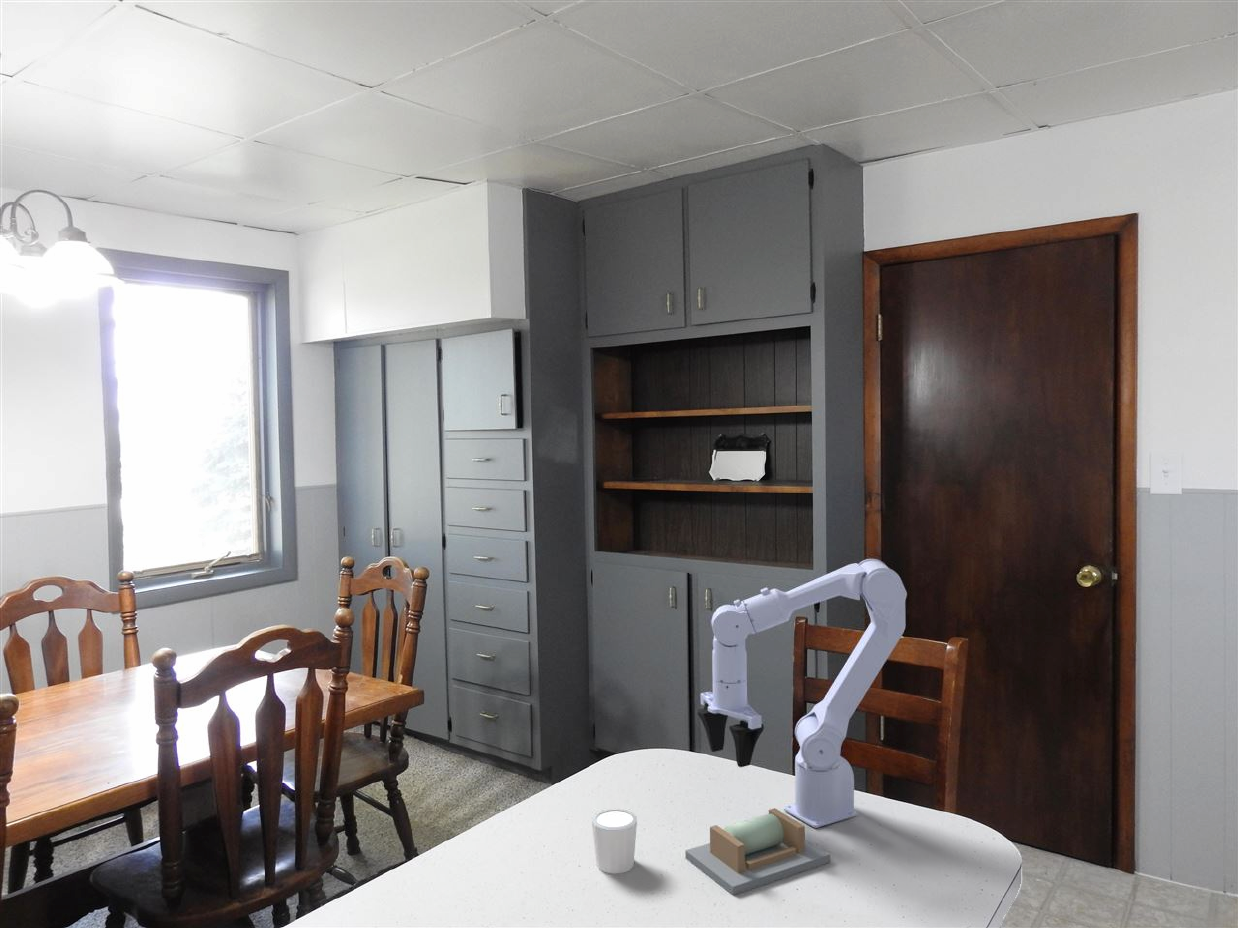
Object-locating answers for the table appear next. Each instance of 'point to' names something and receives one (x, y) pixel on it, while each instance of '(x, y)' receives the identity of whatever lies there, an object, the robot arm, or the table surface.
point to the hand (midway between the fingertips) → (730, 757)
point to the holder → (756, 857)
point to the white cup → (614, 840)
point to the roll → (757, 833)
